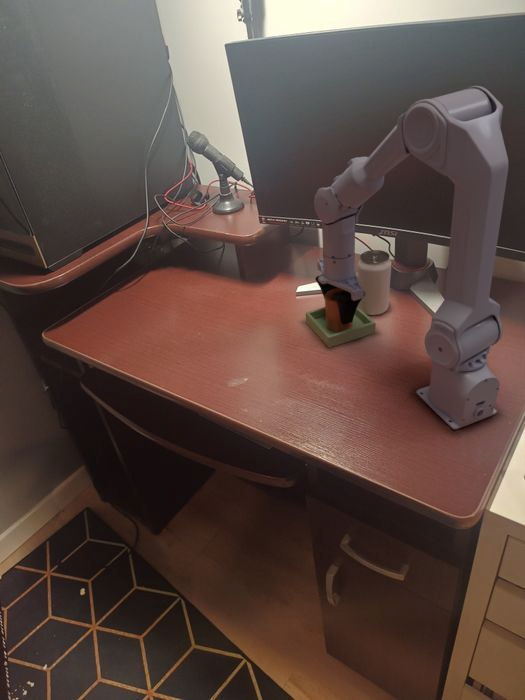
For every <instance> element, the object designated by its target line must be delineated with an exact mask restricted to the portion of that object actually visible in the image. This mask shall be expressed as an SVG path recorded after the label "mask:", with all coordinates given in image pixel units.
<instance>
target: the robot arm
mask: <svg viewBox="0 0 525 700" xmlns="http://www.w3.org/2000/svg"><path fill="white" fill-rule="evenodd" d="M503 111H504V106H503V104H501V102H500V101H499V100H498V99H497V98H496V97H495V96H494V95H493V94H492V93H491V92H490V91H489V90H488V89H487V88H485V87H484V86H480V85H472V86H468V87H466V88H464V89H462V90H458V91H455V92H451V93H447V94H444V95H439V96H436V97H432V98H425V99H424V98H423V99H419V100H417V101H415V102H414V103H413V104H411V106H409V108H408V109H407V111H405V112H404V113H402V114H401V115H399V116H398V118H397V121H396V122H397V123H396V125H395V126H394V127H393V128H392V130H391V131H390V132H389V133H388V134H387V135H386V137H384V138H383V140H382V141H381V142H380V144H379V145H377V147H376V148H375V149H374V150H373V152H372V153H371V154H370V155H369V156H360V157H359V156H357V157H354V158H351V159H349V161H347V166H348V167H347V168H346V169H345V170H344V171H343V172H342V173H341V174H340V175H337V176H335V177H334V178H333V183H332V184H331V185H330V186H328V187H320V188H318V189H317V191H316V193H315V195H314V198H313V199H314V200H313V207H314V212H315V214H316V216H317V217H318V219H319V221H321V235H322V258H321V259H317V261H316V263H317V264H316V267H317V270H318V271H320V272H321V274H320V275H317V276H315V278H314V280H315V282H316V283H317V285H318V286H319V288H320V291H321V293H322V296H323V299H324V301H325V294H326V292H328V291H329V290H332V289H337V288H341V289H343V291H342V292H338V293H335V294H333V296H334V298H335V300H336V302H337V304H338V308H339V313H340V320H341V323H342V324H343V325H344V324H347V323H350V322H352V321H353V318H354V315H355V312H356V309H357V306H358V304H359V303H360V301H361V300H362V298H364V296H365V291H364V289H363V288H362V287H361V285H360V283H359V280H358V274H357V272H356V271H355V269H356V268H355V266H356V264H355V263H356V261H355V260H356V225H358V223H359V215H360V213H361V212H362V210H363V207H364V203H365V202H367V201H368V200H369V199H370V198H371V197H372V196H374V195H375V194H376V193H378V191H379V190H381V189H382V188H383V186H384V183H385V175H386V174H388V173H389V172H390V171H391V170H393V169H394V168H395V167H396V166H398V165H399V164H400V163H401V162H402V161H404V160H405V159H406V158H407V157H409V156H410V155H413V157H415V158H416V159H418V161H421V162H422V163H424V164H425V165H427V166H429V167H430V168H432V169H433V170H434V171H436V172H438V173H440V174H441V175H442V176H444V177H448V178H449V180H450V181H451V182H452V183H453V184H454V190H453V191H454V192H453V205H452V216H451V226H450V228H451V229H450V238H449V239H450V240H449V248H448V249H449V250H448V257H447V259H448V260H447V269H446V270H447V271H446V282H445V293H444V300H443V301H442V303H441V304H440V306H439V307H438V308H437V310H436V311H435V312H434V314H433V316H432V317H431V322H430V328H429V329H428V331H427V332H426V334H425V336H424V347H425V350H426V354H427V355H428V356H429V358H430V359H431V361H432V365H431V371H430V378H429V385H428V386H425V387H421V388H419V389H417V390H416V391H415V392H416V393H415V394H416V395H417V396H418V397H419V398H420V399H421V400H422V401H423V402H424V403H425V404H426V405H427V406H428V407H429V408H430V409H431V410H432V411H433V412H435V414H436V415H437V416H439V417H440V418H441V420H443V422H444V423H446V424H447V425H448V427H450V428H451V429H452V430H459V429H461V428H464V427H467V426H469V425H471V424H474V423H476V422H479V421H482V420H484V419H486V418H489V417H492V416H494V415H496V414H497V412H498V411H497V409H496V408H495V405H496V401H497V397H498V394H499V391H500V381H499V379H498V378H497V377H496V376H495V375H494V374H493V372H492V371H491V369H490V367H489V365H488V362H487V359H488V354H490V350H491V347H493V346H494V345H497V344H498V343H499V342H500V340H501V339H502V336H503V333H504V332H503V330H504V329H503V324H502V321H501V317H500V310H501V305H500V304H499V303H498V302H497V301H495V300H494V299H493V298H491V297H490V293H491V289H492V282H493V273H494V267H495V262H496V261H495V259H496V255H497V247H498V239H499V233H500V226H501V220H502V214H503V207H504V199H505V193H506V187H507V180H508V175H509V174H508V173H509V157H508V154H507V153H508V152H507V150H506V145H505V141H504V137H503V132H502V128H501V127H502V121H503V120H502V119H503Z"/></svg>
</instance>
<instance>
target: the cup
mask: <svg viewBox="0 0 525 700" xmlns="http://www.w3.org/2000/svg"><path fill="white" fill-rule="evenodd" d="M342 291H343V289H341V288H337V289H332V290H329V291H328V292H326V294H325V300H324V307H325V318H326V328H327V329H328V330H329V331H332V332H335V333H339V332H343V331H346V330H349V329H351V328H352V327H353V321H352V322H350V323H347V324H344V325H343V324H342V323H341V320H340V313H339V308H338V304H337V302H336V300H335V298H334V296H333V294H335V293H338V292H342Z"/></svg>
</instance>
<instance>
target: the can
mask: <svg viewBox="0 0 525 700" xmlns="http://www.w3.org/2000/svg"><path fill="white" fill-rule="evenodd" d="M390 257H391V256H390V253H388V252H387V251H384V250H380V249H371V250H370V249H369V250H366V251H364V252H362V253H360V256H359V258H360V259H359V260H358V263H357V278H358V280H359V283H360V285H361V287H362V288H363V289H364V291H365V296H364V298H362V300H361V301H360V303H359V304H358V306H357V307H358V308H359V309H361V310H362V311H363V312H364V313H365V314H366V315H367V316H379V315H382V314H384V313H386V311H388V309H389V308H390V307H389V306H390V293H391V292H390V291H391V278H392V277H391V276H392V261H391V258H390Z"/></svg>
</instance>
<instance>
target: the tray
mask: <svg viewBox="0 0 525 700" xmlns="http://www.w3.org/2000/svg"><path fill="white" fill-rule="evenodd" d="M305 321H306V322H305V323H306V324H307V325H308V326H309V327H310V329H311V330H312V331H313V332H314V333H315V334H316V335H317V337H319V339H320V340H321V341H322V342H323V343H324V344H325V346H326V347H327V348H333V347H336V346H339V345H342V344H345V343H349V342H351V341H354V340H357V339H360V338H364V337H367V336H370V335H373V334H376V325H377V323H376V321H374V320H373V319H372V318H371V317H370V316H369V315H366V314H365V313H364V312H363V311H362V310H361V309H359V308H358V307H357V309H356V312H355V315H354V318H353V327H352V328H351V329H349V330H346V331H343V332H339V333H335V332H332V331H329V330H328V329H327V328H326V318H325V306H323V307H321V308H317V309H313V310H310V311H308V312H305Z"/></svg>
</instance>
